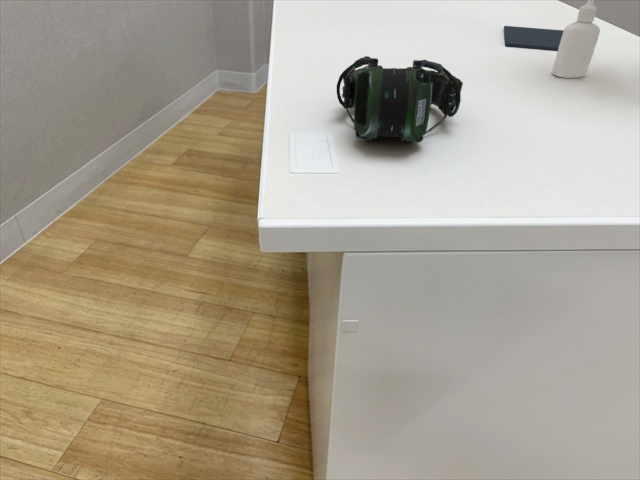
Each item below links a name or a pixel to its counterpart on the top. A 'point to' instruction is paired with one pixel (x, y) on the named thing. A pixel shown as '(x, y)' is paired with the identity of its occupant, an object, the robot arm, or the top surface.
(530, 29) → the slate mat
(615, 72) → the top surface
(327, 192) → the top surface
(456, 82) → the headphones
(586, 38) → the eye dropper bottle
